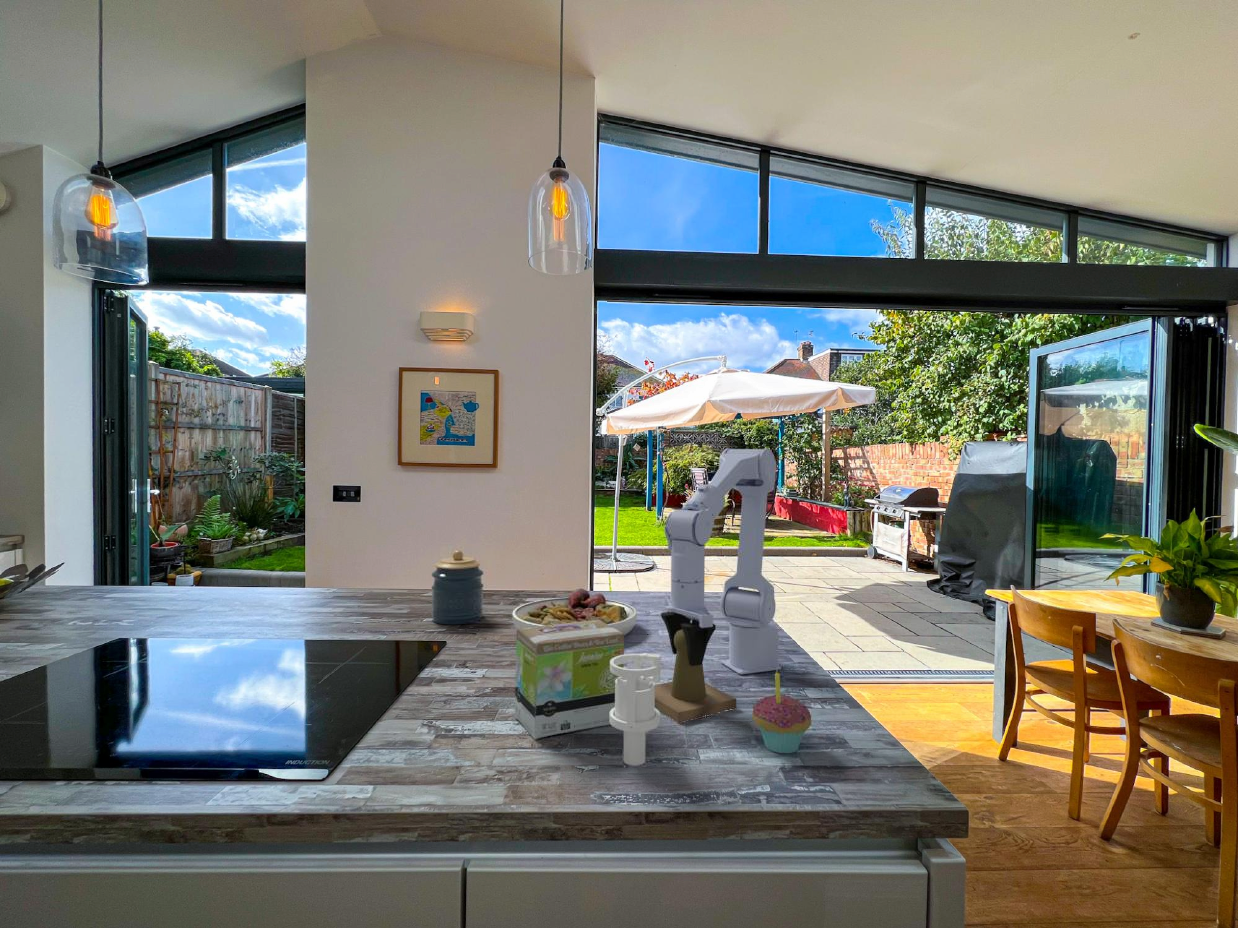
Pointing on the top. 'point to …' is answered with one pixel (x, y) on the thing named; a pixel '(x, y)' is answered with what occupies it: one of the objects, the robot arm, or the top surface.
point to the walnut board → (691, 703)
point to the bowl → (576, 611)
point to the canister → (457, 590)
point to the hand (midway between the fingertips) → (686, 658)
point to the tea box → (565, 676)
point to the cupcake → (781, 720)
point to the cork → (686, 674)
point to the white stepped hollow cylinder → (635, 702)
